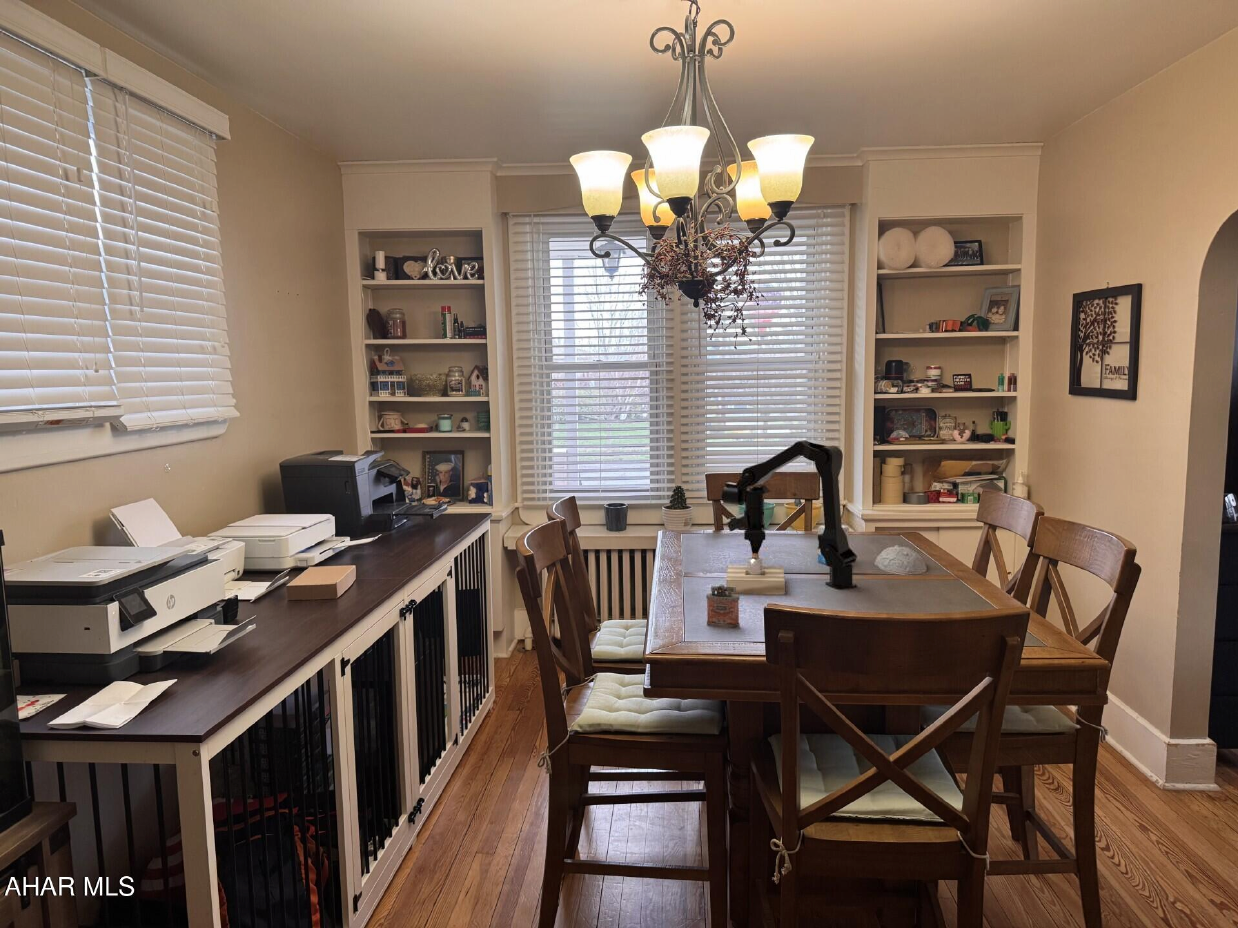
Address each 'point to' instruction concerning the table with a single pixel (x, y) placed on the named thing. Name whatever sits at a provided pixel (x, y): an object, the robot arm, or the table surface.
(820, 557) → the ink box
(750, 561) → the cylinder
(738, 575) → the dock
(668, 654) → the table surface
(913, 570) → the grey textured dome
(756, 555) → the pin
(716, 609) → the lighter
